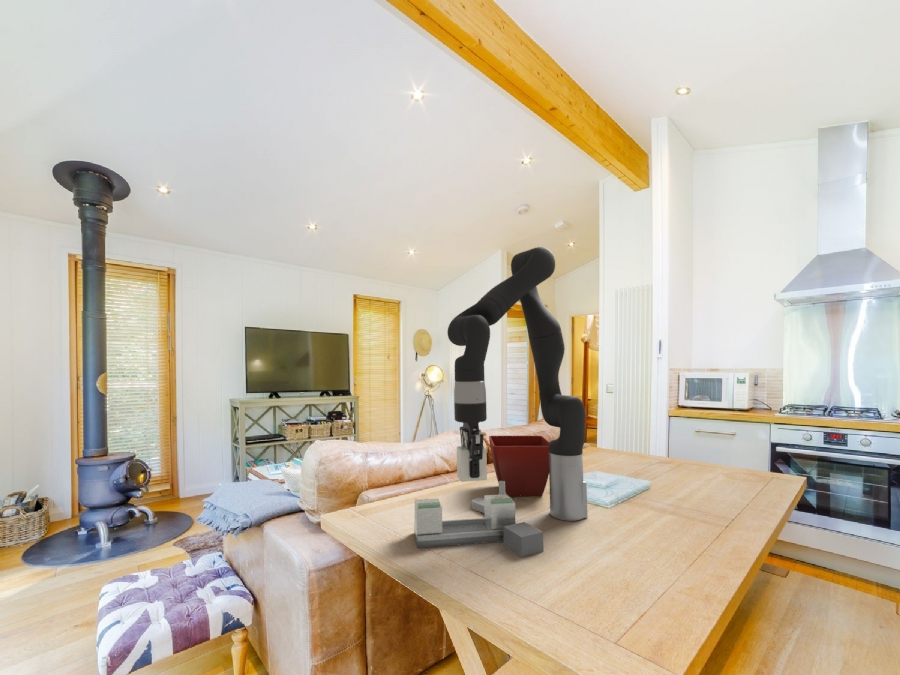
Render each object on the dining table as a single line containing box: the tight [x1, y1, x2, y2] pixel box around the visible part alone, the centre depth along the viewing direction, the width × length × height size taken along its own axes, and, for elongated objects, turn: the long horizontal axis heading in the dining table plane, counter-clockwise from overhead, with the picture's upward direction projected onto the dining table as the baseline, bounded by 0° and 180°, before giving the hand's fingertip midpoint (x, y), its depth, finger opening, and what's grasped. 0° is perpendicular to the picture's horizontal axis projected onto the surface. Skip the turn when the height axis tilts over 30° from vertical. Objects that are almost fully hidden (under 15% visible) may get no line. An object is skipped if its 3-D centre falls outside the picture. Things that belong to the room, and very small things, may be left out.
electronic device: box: [471, 481, 506, 515], centre depth 121 cm, size 5×10×15 cm
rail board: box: [413, 494, 516, 549], centre depth 104 cm, size 24×9×9 cm, turn 99°
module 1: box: [456, 445, 488, 483], centre depth 98 cm, size 6×4×7 cm
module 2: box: [503, 521, 544, 558], centre depth 97 cm, size 6×7×4 cm
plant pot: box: [488, 435, 550, 498], centre depth 141 cm, size 19×19×17 cm
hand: (471, 474), depth 98 cm, fingers closed on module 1, 4 cm apart
